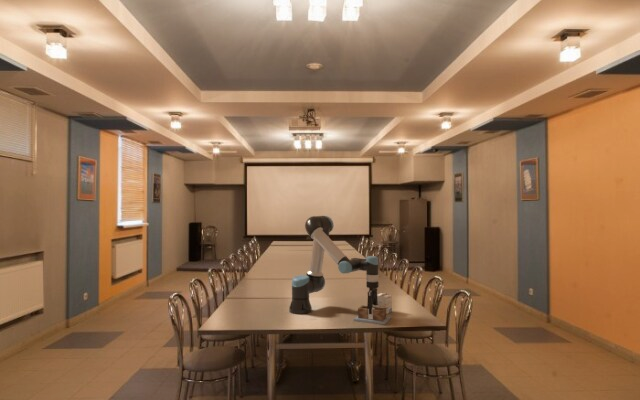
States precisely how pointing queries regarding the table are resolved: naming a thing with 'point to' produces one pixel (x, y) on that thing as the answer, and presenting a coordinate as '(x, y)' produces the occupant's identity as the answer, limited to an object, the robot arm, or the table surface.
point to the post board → (373, 320)
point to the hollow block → (377, 313)
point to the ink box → (385, 301)
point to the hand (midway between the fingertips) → (372, 317)
